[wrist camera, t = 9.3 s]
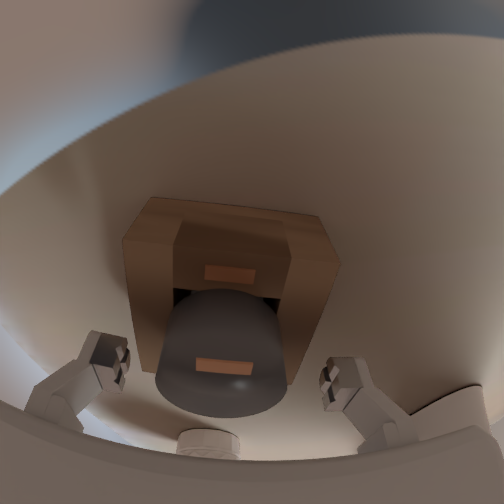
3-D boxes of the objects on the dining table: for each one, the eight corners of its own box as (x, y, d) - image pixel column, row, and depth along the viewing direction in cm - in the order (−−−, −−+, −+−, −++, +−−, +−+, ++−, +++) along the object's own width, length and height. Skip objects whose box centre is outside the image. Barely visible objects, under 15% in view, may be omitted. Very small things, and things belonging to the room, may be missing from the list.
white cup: (251, 429, 26) (254, 518, 18) (238, 452, 30) (239, 524, 22) (172, 421, 25) (163, 511, 17) (174, 445, 29) (167, 518, 21)
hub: (284, 332, 18) (291, 386, 15) (156, 319, 18) (141, 372, 14) (317, 216, 14) (341, 265, 11) (150, 197, 13) (121, 240, 10)
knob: (265, 324, 17) (273, 421, 11) (179, 316, 16) (161, 413, 11) (282, 253, 14) (302, 357, 9) (179, 241, 14) (147, 343, 8)
